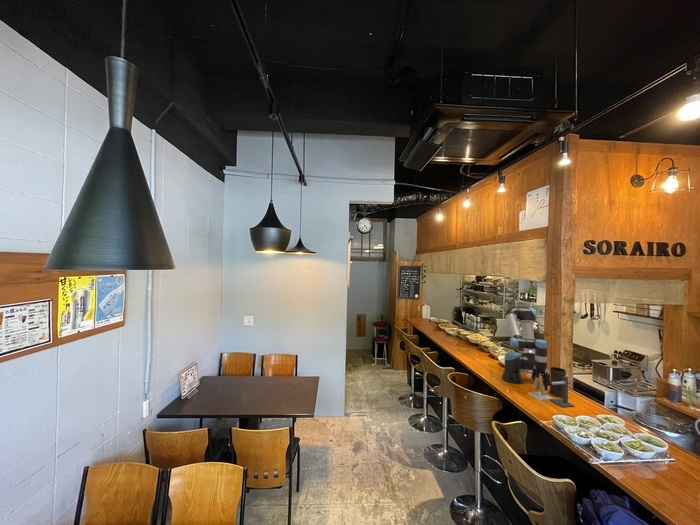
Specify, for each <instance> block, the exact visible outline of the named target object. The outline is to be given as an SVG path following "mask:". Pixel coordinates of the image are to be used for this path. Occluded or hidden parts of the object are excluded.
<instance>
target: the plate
mask: <svg viewBox="0 0 700 525" xmlns="http://www.w3.org/2000/svg"><path fill="white" fill-rule="evenodd" d="M528 394H529V395H528ZM527 395H528V396H530V395H531V397H532V398H534V399H535V398H536V400H537V399H538V400H537V401H538V402H546V401H547V402H551V401H550V399H554V398H553V397H551V396H549V395H548V394H546V395H541V391H540V392H535V391H534V392H528V393H527Z"/></svg>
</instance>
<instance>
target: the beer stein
mask: <svg viewBox="0 0 700 525" xmlns="http://www.w3.org/2000/svg"><path fill="white" fill-rule="evenodd" d="M549 372H550V386H549V388H548V389H549V391H548V393H549V394H550V395H551V396H552V397H553V396H554V397H557V398H559V399H563V384H557V385H552V383H551V382H560V381H563V376H566V377H567V371H566V369H564V368H560V367H556V366H553V367H550V368H549Z"/></svg>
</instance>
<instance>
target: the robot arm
mask: <svg viewBox="0 0 700 525" xmlns="http://www.w3.org/2000/svg"><path fill="white" fill-rule="evenodd" d="M504 319H505V320H506V321H507V325H508V330H509V332H510V336H511V337H510V338H509V345H510V347H511V348H516V349H523V351H522V353H520V352H517V351H516V352H515V351H509V352H505V354H504V368H503V369H504V370H503V372H502V376H501V379H502V380H503V381H504V382H507V383H510V384H515V385H516V384H519V385H520V384H522V383H523V377H522V374H521V370H525V371H532V372H531V379H532V380H533V385H534V386H533V387H534V388H533V390H534V391H535V377H541V378H542V379H543V383H544V385H543V394H546V395H548V389H549V388H548V387H550V380H551V371H547V367H548V342H547V341H546V340H544V339H537V338H535V334H534V333H535V332H534V324H535V323H536V321H537V312H536V310H535V308H534V307H530V306H516V305H514V306H511V307H509V308H507V309H506V310H505V313H504ZM519 323H520V325H521V328H520V326H519Z"/></svg>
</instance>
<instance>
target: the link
mask: <svg viewBox="0 0 700 525" xmlns="http://www.w3.org/2000/svg"><path fill="white" fill-rule="evenodd" d="M543 385H544V383H543V379H542V376H539V377H535V390H534V392H541V395H547V394H543Z"/></svg>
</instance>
